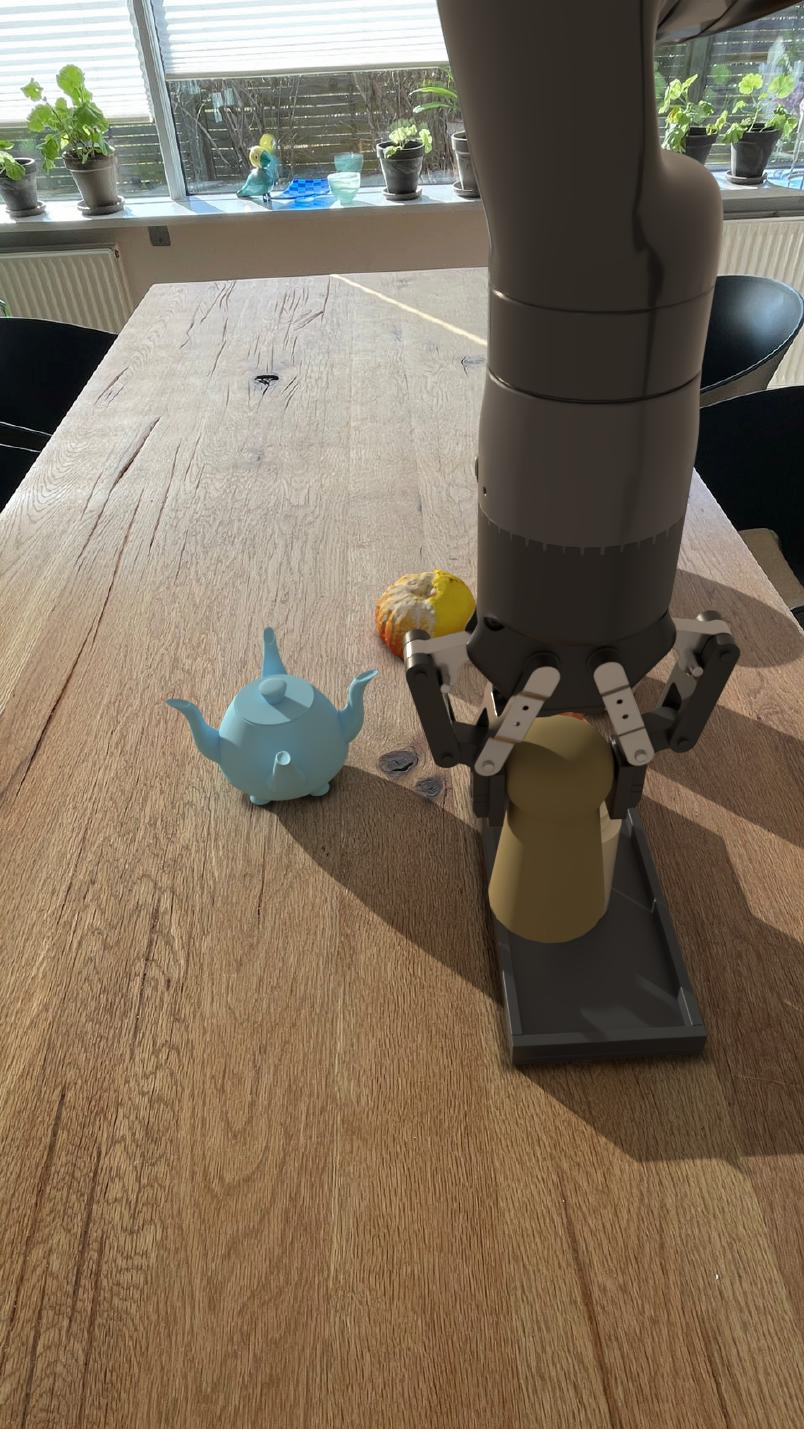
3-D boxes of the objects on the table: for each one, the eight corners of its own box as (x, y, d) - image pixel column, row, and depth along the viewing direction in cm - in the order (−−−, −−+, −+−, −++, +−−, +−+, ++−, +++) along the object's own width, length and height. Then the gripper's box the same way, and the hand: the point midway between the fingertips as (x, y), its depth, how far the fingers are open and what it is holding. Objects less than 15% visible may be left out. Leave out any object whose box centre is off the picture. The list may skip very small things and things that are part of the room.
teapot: (283, 708, 92) (268, 622, 85) (392, 760, 85) (386, 671, 79) (186, 787, 84) (162, 699, 77) (299, 850, 78) (283, 760, 71)
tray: (701, 1054, 63) (707, 1035, 61) (511, 1065, 63) (512, 1046, 61) (620, 782, 82) (623, 762, 81) (475, 790, 82) (475, 771, 81)
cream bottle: (623, 902, 71) (646, 771, 62) (572, 938, 69) (588, 806, 60) (575, 860, 75) (590, 729, 66) (525, 893, 72) (533, 762, 63)
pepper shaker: (511, 837, 53) (518, 683, 45) (618, 870, 50) (643, 714, 43) (470, 919, 49) (470, 764, 41) (585, 959, 46) (606, 802, 39)
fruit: (401, 592, 105) (418, 536, 99) (482, 639, 103) (505, 583, 97) (348, 645, 98) (363, 587, 92) (434, 695, 96) (455, 639, 90)
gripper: (387, 553, 31) (408, 882, 42) (818, 525, 32) (727, 860, 43) (380, 453, 37) (400, 766, 48) (745, 430, 37) (681, 747, 48)
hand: (554, 809), depth 45 cm, fingers closed on pepper shaker, 5 cm apart
